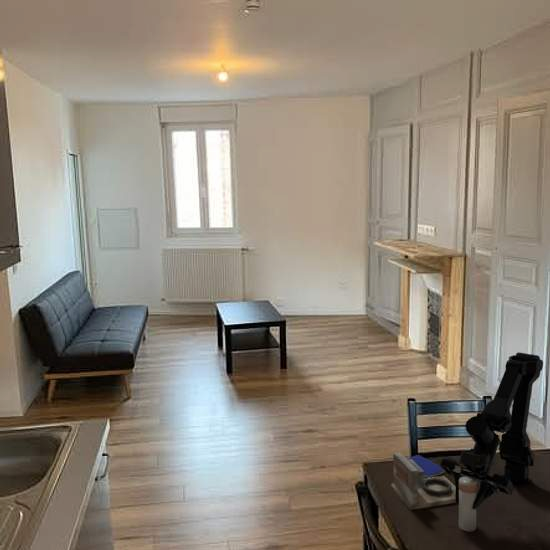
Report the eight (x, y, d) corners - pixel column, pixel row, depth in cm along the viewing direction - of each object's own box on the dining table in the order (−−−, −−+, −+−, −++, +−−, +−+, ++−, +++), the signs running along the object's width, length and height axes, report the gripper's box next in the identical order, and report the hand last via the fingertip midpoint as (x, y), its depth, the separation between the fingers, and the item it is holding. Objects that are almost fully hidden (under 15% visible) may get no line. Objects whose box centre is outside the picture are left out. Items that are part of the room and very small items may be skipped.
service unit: (443, 479, 176) (444, 445, 175) (466, 500, 164) (467, 464, 162) (391, 487, 172) (391, 452, 171) (410, 509, 160) (410, 472, 158)
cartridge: (468, 520, 154) (469, 475, 152) (480, 529, 150) (480, 483, 148) (454, 524, 152) (455, 478, 151) (465, 533, 148) (466, 486, 146)
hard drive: (400, 460, 187) (428, 475, 177) (418, 454, 192) (447, 468, 181) (400, 465, 188) (428, 480, 177) (418, 458, 192) (447, 473, 181)
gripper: (442, 429, 157) (422, 482, 151) (510, 448, 144) (490, 507, 138) (455, 447, 164) (436, 498, 157) (521, 466, 151) (503, 523, 144)
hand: (465, 505), depth 149 cm, fingers closed on cartridge, 4 cm apart
